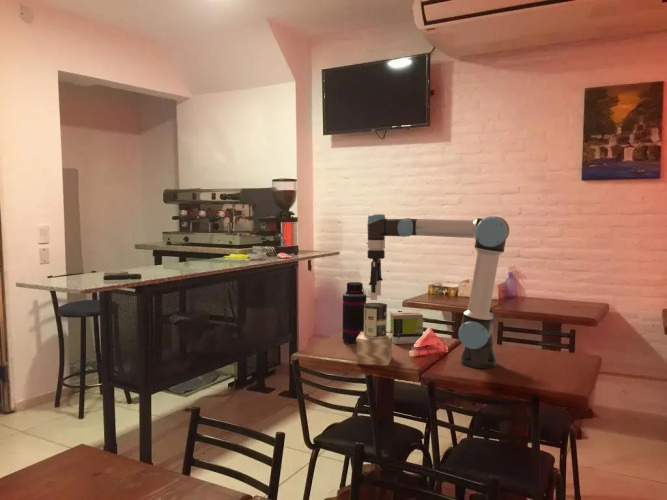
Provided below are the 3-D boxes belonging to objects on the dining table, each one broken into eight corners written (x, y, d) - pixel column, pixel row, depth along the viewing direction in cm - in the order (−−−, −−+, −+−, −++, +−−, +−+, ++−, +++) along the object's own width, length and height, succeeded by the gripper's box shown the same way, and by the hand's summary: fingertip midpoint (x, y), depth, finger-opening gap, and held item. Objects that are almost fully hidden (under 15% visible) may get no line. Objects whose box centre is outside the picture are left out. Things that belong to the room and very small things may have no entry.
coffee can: (385, 333, 255) (386, 302, 254) (387, 338, 245) (387, 306, 244) (362, 333, 255) (363, 302, 254) (363, 338, 245) (364, 306, 244)
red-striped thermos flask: (366, 344, 280) (367, 284, 278) (342, 344, 280) (343, 284, 278) (364, 338, 294) (365, 280, 292) (341, 337, 294) (342, 280, 292)
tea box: (418, 339, 292) (419, 311, 291) (423, 344, 282) (423, 314, 281) (389, 339, 291) (390, 311, 290) (393, 344, 281) (393, 314, 280)
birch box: (392, 357, 256) (393, 333, 256) (389, 365, 242) (389, 340, 241) (360, 355, 259) (361, 331, 258) (355, 363, 245) (355, 338, 244)
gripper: (371, 247, 260) (371, 293, 261) (363, 251, 236) (363, 301, 237) (387, 247, 258) (387, 293, 260) (381, 251, 234) (380, 302, 236)
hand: (375, 297), depth 249 cm, fingers open, 13 cm apart
